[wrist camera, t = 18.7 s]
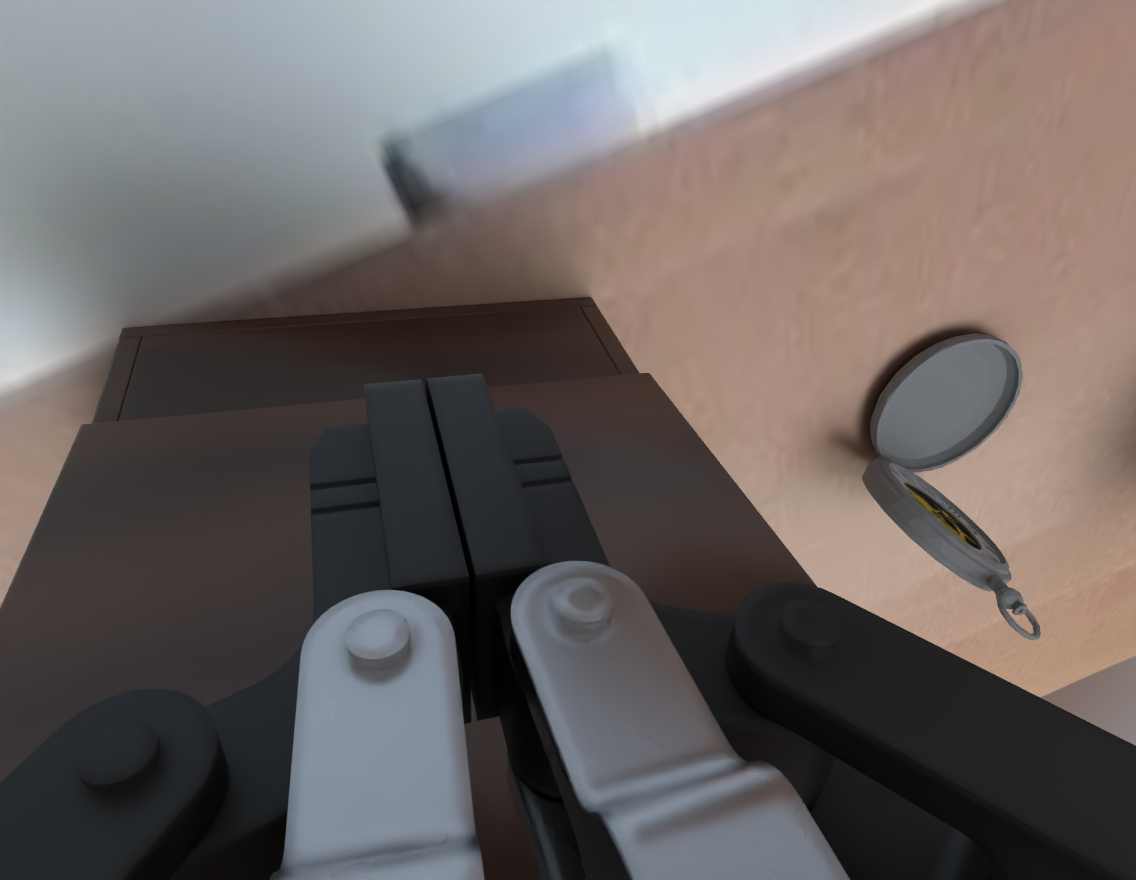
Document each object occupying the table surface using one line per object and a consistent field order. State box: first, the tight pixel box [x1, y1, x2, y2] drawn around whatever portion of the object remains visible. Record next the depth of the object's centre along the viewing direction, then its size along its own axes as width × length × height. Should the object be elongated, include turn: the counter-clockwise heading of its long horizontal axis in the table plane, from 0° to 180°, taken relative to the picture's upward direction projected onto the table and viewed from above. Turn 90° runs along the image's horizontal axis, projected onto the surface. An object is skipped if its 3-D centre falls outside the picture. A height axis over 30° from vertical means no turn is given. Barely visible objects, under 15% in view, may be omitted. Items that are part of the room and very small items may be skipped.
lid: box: [0, 373, 817, 880], centre depth 14 cm, size 18×14×1 cm
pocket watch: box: [862, 333, 1041, 640], centre depth 31 cm, size 8×8×10 cm
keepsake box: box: [92, 298, 640, 424], centre depth 28 cm, size 17×14×5 cm
